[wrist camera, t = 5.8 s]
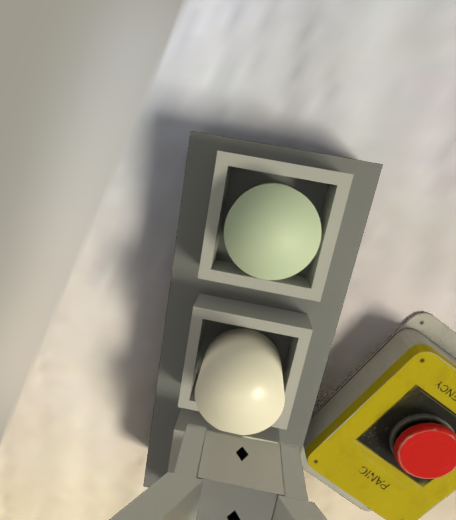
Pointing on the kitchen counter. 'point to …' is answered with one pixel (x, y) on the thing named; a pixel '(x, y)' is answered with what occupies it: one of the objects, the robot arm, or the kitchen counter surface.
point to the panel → (254, 282)
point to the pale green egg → (272, 231)
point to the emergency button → (392, 425)
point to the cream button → (240, 382)
